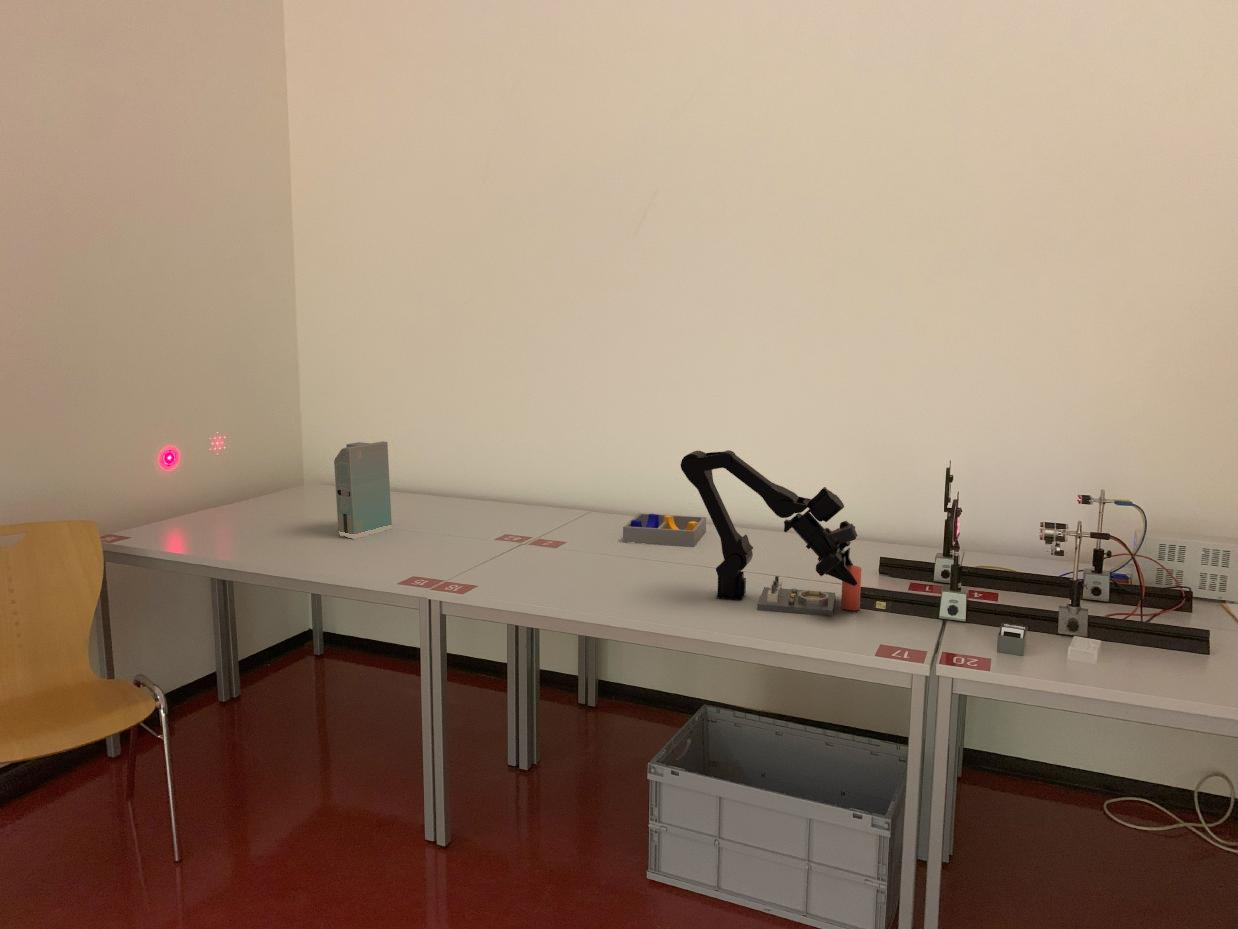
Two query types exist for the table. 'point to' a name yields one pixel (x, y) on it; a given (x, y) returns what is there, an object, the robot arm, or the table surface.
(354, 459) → the device
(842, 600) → the cap
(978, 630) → the table surface
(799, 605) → the grey fixture base plate
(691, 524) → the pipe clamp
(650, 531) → the parts tray
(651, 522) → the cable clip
